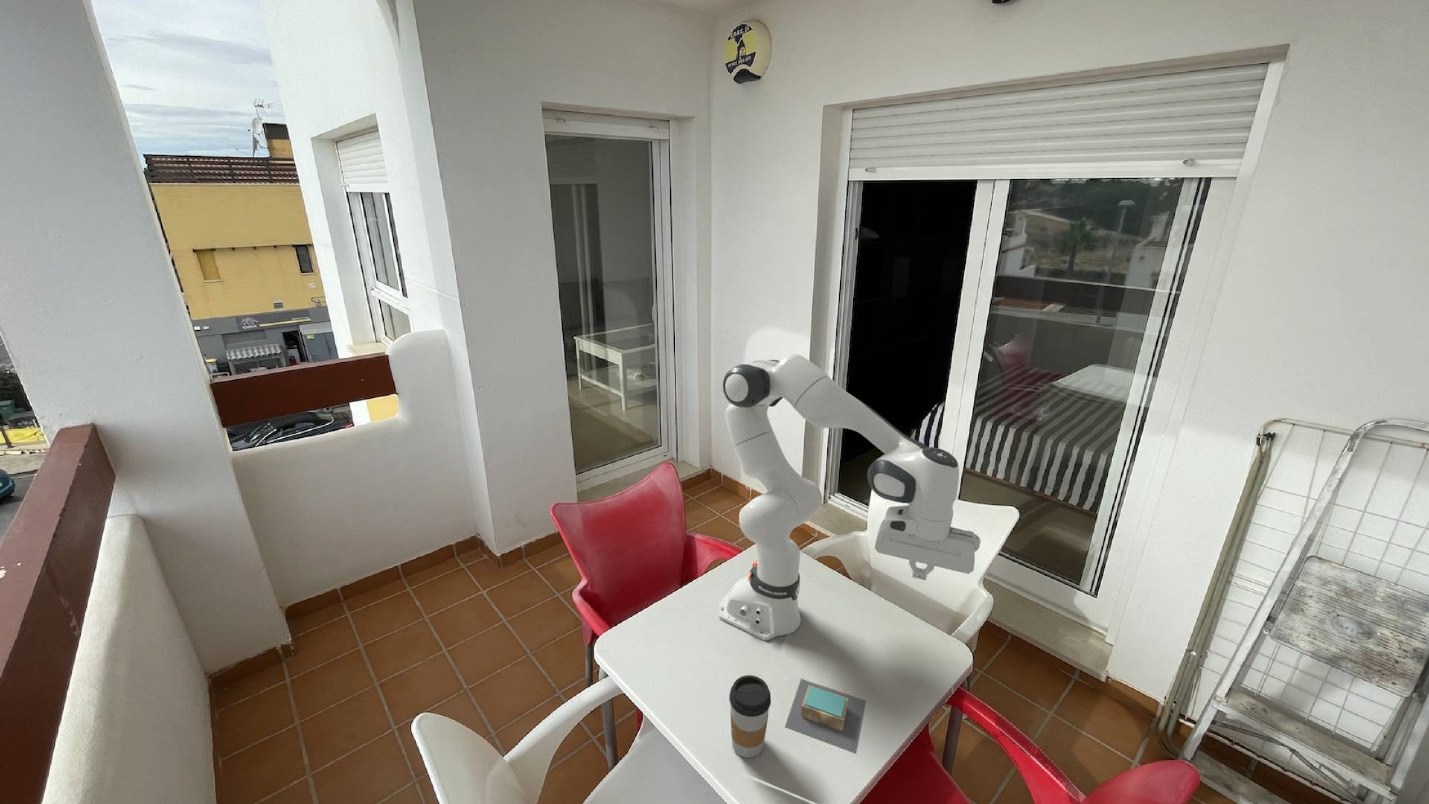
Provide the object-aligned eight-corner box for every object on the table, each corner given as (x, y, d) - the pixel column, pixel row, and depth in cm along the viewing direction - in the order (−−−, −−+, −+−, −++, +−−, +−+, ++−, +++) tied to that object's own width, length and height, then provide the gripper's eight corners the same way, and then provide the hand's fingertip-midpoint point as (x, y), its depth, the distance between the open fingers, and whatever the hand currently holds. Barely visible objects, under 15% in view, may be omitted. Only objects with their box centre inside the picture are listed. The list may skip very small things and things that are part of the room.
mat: (784, 728, 116) (784, 726, 116) (800, 680, 128) (801, 678, 128) (855, 755, 111) (855, 753, 111) (865, 702, 123) (865, 700, 123)
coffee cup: (725, 729, 116) (727, 674, 111) (763, 726, 117) (767, 672, 112) (729, 766, 108) (732, 709, 103) (770, 763, 109) (775, 706, 104)
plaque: (842, 731, 115) (800, 716, 119) (846, 708, 121) (807, 695, 124) (843, 719, 114) (801, 704, 118) (848, 697, 120) (808, 684, 123)
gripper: (981, 526, 114) (970, 581, 119) (881, 505, 122) (874, 558, 126) (982, 541, 109) (970, 598, 113) (877, 519, 116) (870, 573, 121)
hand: (919, 577), depth 120 cm, fingers closed
